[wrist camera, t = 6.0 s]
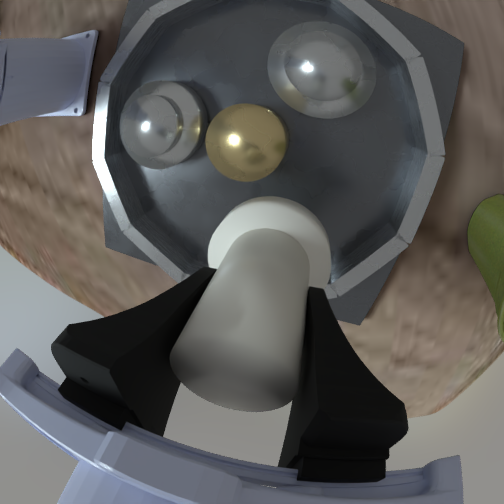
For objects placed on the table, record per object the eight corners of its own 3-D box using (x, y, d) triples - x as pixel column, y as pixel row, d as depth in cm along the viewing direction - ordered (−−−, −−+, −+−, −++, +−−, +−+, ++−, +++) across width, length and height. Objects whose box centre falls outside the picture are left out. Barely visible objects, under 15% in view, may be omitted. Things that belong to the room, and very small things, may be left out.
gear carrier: (111, 242, 24) (89, 260, 21) (141, -14, 12) (115, -25, 9) (358, 317, 22) (362, 347, 19) (457, 45, 10) (482, 37, 7)
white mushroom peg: (198, 254, 16) (123, 361, 9) (260, 171, 12) (189, 259, 6) (280, 313, 16) (253, 434, 10) (354, 248, 13) (375, 383, 7)
